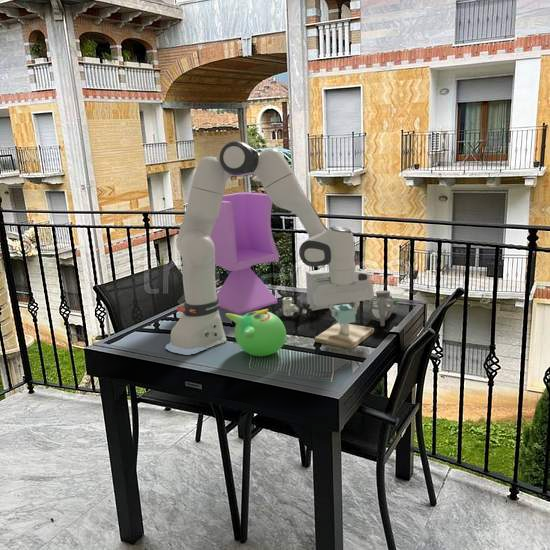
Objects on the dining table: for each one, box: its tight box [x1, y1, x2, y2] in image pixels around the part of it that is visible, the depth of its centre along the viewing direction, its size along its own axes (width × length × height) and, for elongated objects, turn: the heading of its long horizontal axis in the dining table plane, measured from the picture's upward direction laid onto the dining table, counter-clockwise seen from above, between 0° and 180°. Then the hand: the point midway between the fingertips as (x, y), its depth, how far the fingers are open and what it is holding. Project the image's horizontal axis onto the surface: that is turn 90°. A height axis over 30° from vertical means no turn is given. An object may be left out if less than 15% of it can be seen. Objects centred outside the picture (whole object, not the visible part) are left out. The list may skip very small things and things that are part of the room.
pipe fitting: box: [368, 290, 399, 322], centre depth 198 cm, size 12×8×10 cm
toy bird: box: [224, 308, 287, 357], centre depth 172 cm, size 18×17×15 cm
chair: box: [210, 192, 280, 316], centre depth 219 cm, size 22×22×45 cm
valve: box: [282, 296, 312, 321], centre depth 205 cm, size 7×7×12 cm
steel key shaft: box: [340, 323, 350, 335], centre depth 181 cm, size 4×2×5 cm, turn 9°
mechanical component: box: [367, 297, 398, 327], centre depth 189 cm, size 3×10×10 cm, turn 59°
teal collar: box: [332, 303, 356, 324], centre depth 180 cm, size 7×5×4 cm
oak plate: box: [314, 322, 375, 350], centre depth 182 cm, size 16×14×2 cm
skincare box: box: [305, 269, 329, 312], centre depth 212 cm, size 8×6×15 cm
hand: (344, 314), depth 181 cm, fingers closed on teal collar, 5 cm apart
